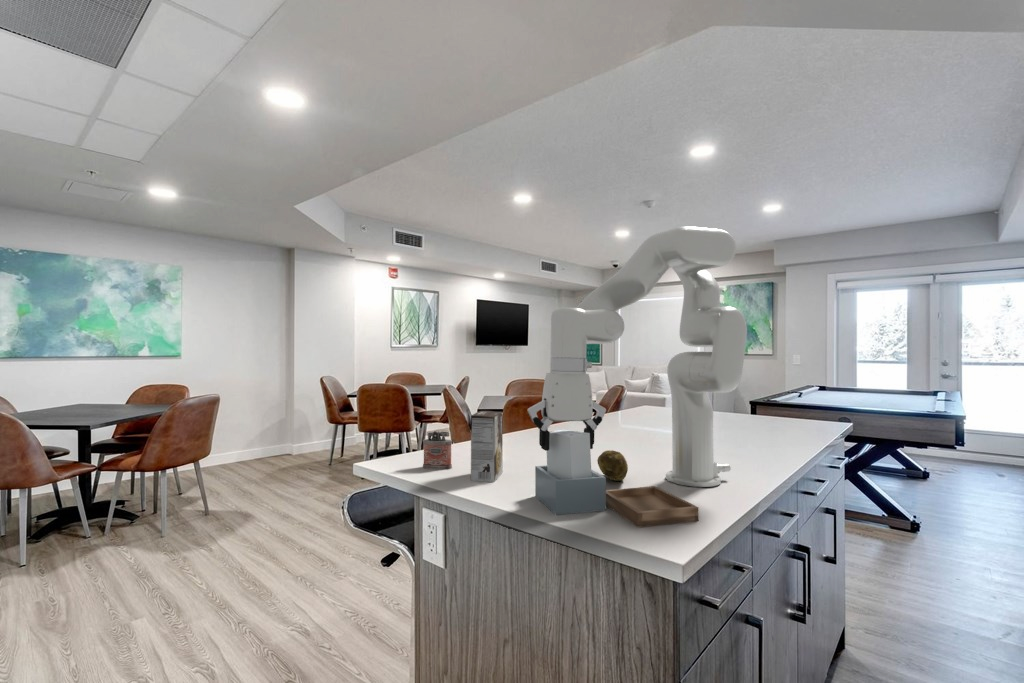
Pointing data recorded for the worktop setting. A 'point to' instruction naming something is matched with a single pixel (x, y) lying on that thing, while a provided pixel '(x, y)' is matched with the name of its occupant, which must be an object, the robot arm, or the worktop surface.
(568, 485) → the grey open box frame
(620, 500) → the tray
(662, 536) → the worktop surface
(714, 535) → the worktop surface
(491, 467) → the coffee box
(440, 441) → the lighter
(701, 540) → the worktop surface
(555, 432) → the skincare box
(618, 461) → the potato
